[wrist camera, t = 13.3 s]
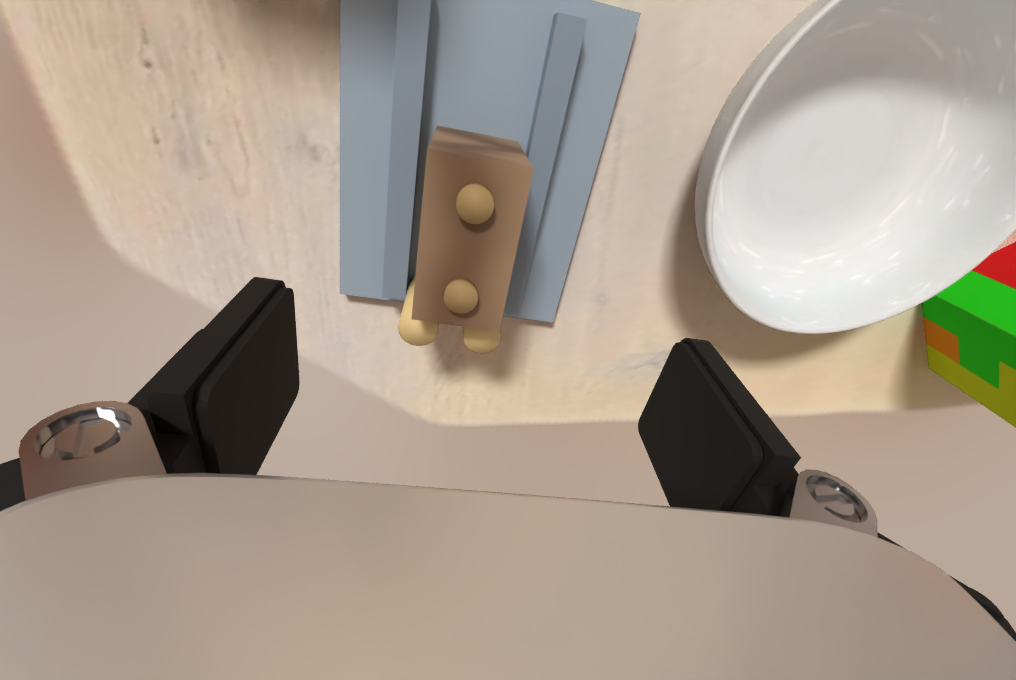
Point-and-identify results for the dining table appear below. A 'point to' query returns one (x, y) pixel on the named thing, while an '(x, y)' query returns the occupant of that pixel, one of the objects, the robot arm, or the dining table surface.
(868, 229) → the serving bowl
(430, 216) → the panel block
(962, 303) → the puzzle toy
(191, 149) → the dining table surface
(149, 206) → the dining table surface
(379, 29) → the slot board
